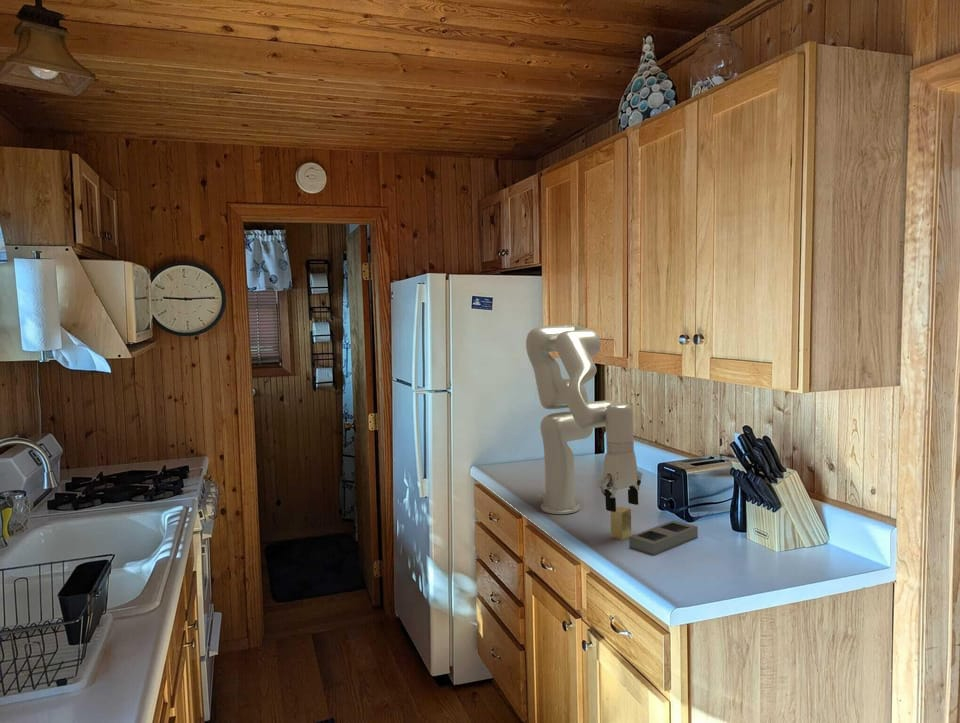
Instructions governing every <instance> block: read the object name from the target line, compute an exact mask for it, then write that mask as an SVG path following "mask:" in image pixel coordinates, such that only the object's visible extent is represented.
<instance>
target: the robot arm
mask: <svg viewBox="0 0 960 723" xmlns="http://www.w3.org/2000/svg"><path fill="white" fill-rule="evenodd" d="M601 344H602V342H601V339H600V336H599V335H598V334H597V332H596V331H595V330H593V329H591V328H587V327H584V326H583V327H582V326H579V325H574V324H559V325H558V324H557V325H542V326H537V327H534V328H532V329H531V330H530V331H529V332H528V333H527V336H526V340H525V348H526V353H527V356H528V359H529V361H530V364H531V366H532V369H533V372H534V378H535V383H536V388H537V394H538V399H539V402H540V404H541V406H542V407H543V408H544V409H546V410H560V409H567V408H568V409H569V411H562V412H561V411H560V412H554V413H550V414H547V415H545V416H544V417H543V418H542V419H541V421H540V431H541V432H540V434H541V438H542V443H543V444H542V445H543V453H544V454H543V455H544V456H543V458H544V486H545V487H544V489H545V490H543V491H541V494H538V498H539V499H541V500H543V502H542V503H541V506H540V510H542V512H545V513H547V514H552V515H569V514H574V513H576V512H579V510H580V509H581V508H580V507H581V505H580V504H579V503H578V502H576V501H575V499H576V498H575V496H576V494H575V493H576V492H575V489H576V488H575V456H574V453H573V450H572V449H571V447H570V446H569V444H568V442H573V441H580V440H586V439H588V438H589V437H591V436H592V434H593V431H594V429H597V428H605V437H606V453H605V454H604V459H603V466H602V467H603V471H602V475H603V476H602V478H603V479H602V480H601V481H600V482H599V483H598V485H599V488H600V490H601V494H603V497H604V498H605V509H606V511H608V512H610V513H611V512H616V508H617V500H616V497H615V495H616V492H617V491H619V490H623V489H626V488H629V489H627V500H628V501H627V502H628V504H631V505H635V506H637V505H639V491H640V486H641V483H642V481H641V480H642V477H643V473H642V472H640V471H638V464H637V457H636V452H635V446H634V445H635V444H634V438H635V437H634V418H633V416H634V415H633V414H634V413H633V406H631V404H629V403H624V402H622V403H621V402H618V401H616V400H611V399H607V400H606V399H605V400H598V401H597V400H596V401H589V397H588V392H587V390H586V387H585V385H584V384H586V383H588V382H590V381H591V380H592V379H593V378H594V377H595V376H596V373H597V371H598V370H597V366H596V364H595V362H594V361H593V359H592V356H596V355H597V354H599V352H600V351H601ZM551 352H552V353H553V352H557V354H558V355H559V357H560V360H561V362H562V365H563V366H564V369H565V371H566V372H567V374H568V377H569V378H565V379H564V378H563V377H562V372H561V367H560V365H559V363H558V361H556V358H554V356H553V355H551V354H550V353H551Z"/></svg>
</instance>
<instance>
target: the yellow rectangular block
mask: <svg viewBox="0 0 960 723" xmlns="http://www.w3.org/2000/svg"><path fill="white" fill-rule="evenodd" d="M630 536H632V509H630V508H626V507H623V506H616V512H611V511H610V537H611V538H614V539H616V540H620V541H624V540H626V539H629V537H630Z"/></svg>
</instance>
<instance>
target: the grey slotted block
mask: <svg viewBox="0 0 960 723" xmlns="http://www.w3.org/2000/svg"><path fill="white" fill-rule="evenodd" d="M698 532H699V530H698V526H696V525H693V524H689V523H685V522H681V521H678V520H674V519H673V520H671V521H668V522H665V523H662V524H660V525H658V526H654V527H652V528H650V529H646V530H644V531H640V532H638V533H636V534H633V535H632V534H631V536H630V537H629V538H628V540H629V541H628V542H629V545H628V547H629V548H630V549H633V550H635V551H636V550H637V551H640V552H643V553H646V554H649V555H652V556H656V555H658V554H660V553H663V552H665V551H667V550H670V549H672V548H674V547H676V546H680V545H682V544H684V543H686V542H689V541H691V540H694V539H696V538H698V536H699V534H698Z"/></svg>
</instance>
